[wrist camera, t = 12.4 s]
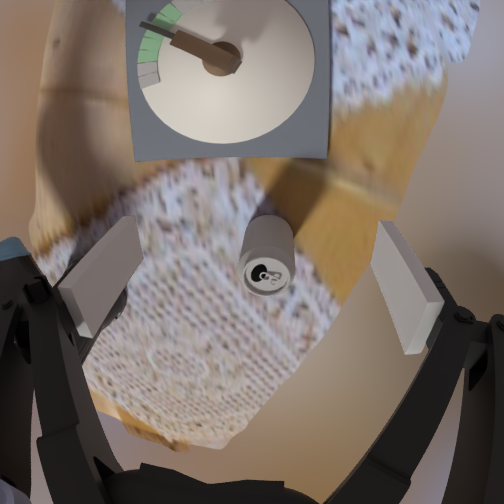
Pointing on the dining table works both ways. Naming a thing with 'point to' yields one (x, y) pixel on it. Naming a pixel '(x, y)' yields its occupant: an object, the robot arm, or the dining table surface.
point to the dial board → (229, 80)
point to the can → (267, 256)
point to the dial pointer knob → (203, 50)
